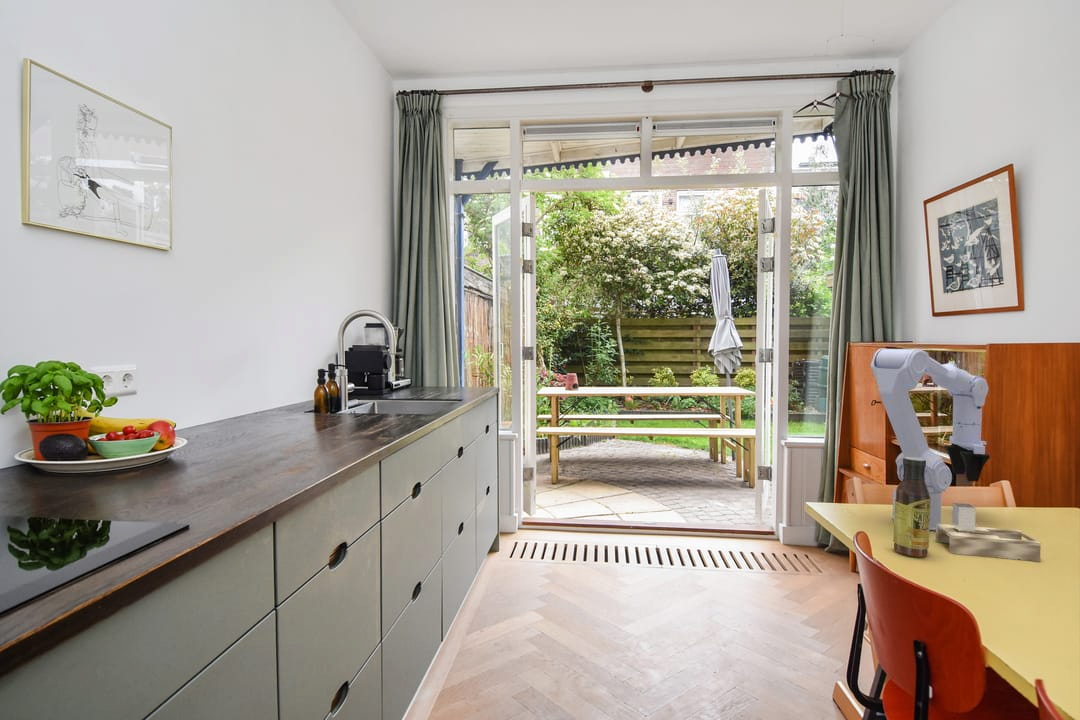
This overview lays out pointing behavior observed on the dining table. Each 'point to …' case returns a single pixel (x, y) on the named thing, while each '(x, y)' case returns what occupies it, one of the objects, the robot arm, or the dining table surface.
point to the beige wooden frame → (989, 542)
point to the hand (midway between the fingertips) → (965, 477)
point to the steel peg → (964, 517)
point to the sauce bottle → (912, 510)
